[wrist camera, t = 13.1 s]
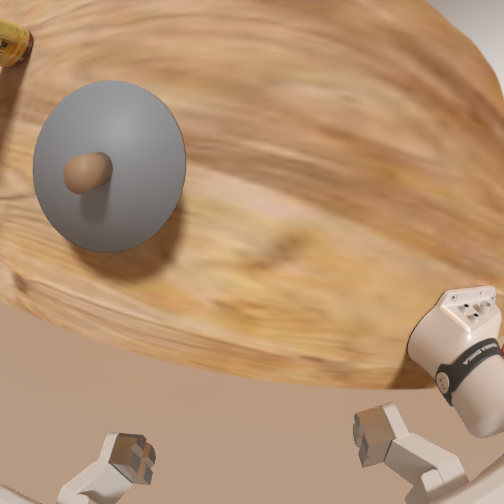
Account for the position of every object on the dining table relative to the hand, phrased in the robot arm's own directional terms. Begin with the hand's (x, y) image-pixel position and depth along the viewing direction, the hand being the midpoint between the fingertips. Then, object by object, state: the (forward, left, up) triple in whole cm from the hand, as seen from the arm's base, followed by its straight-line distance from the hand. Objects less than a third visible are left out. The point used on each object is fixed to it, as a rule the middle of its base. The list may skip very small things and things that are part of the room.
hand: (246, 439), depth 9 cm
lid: (+11, -10, -21) cm, 26 cm away
